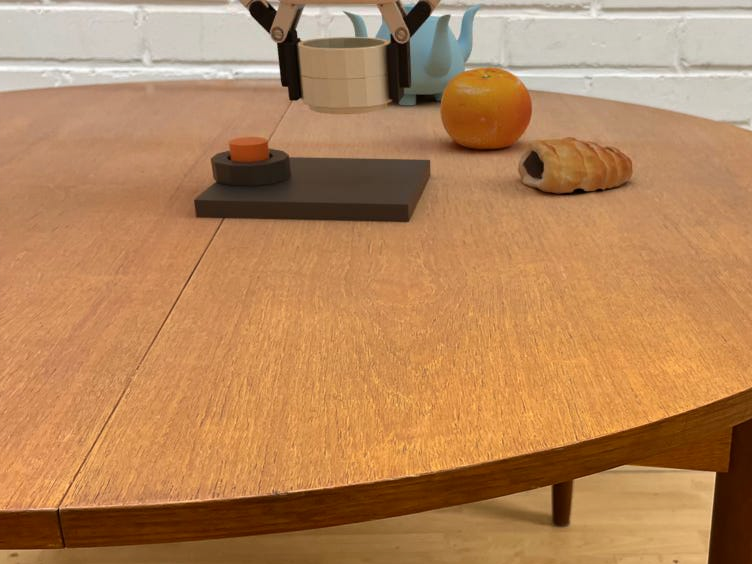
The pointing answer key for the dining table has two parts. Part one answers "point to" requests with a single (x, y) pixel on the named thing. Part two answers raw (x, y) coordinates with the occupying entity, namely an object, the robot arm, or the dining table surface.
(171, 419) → the dining table surface
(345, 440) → the dining table surface
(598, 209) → the dining table surface
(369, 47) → the bowl
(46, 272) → the dining table surface
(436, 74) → the teapot
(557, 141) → the pastry
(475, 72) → the fruit
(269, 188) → the scale
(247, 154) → the button
